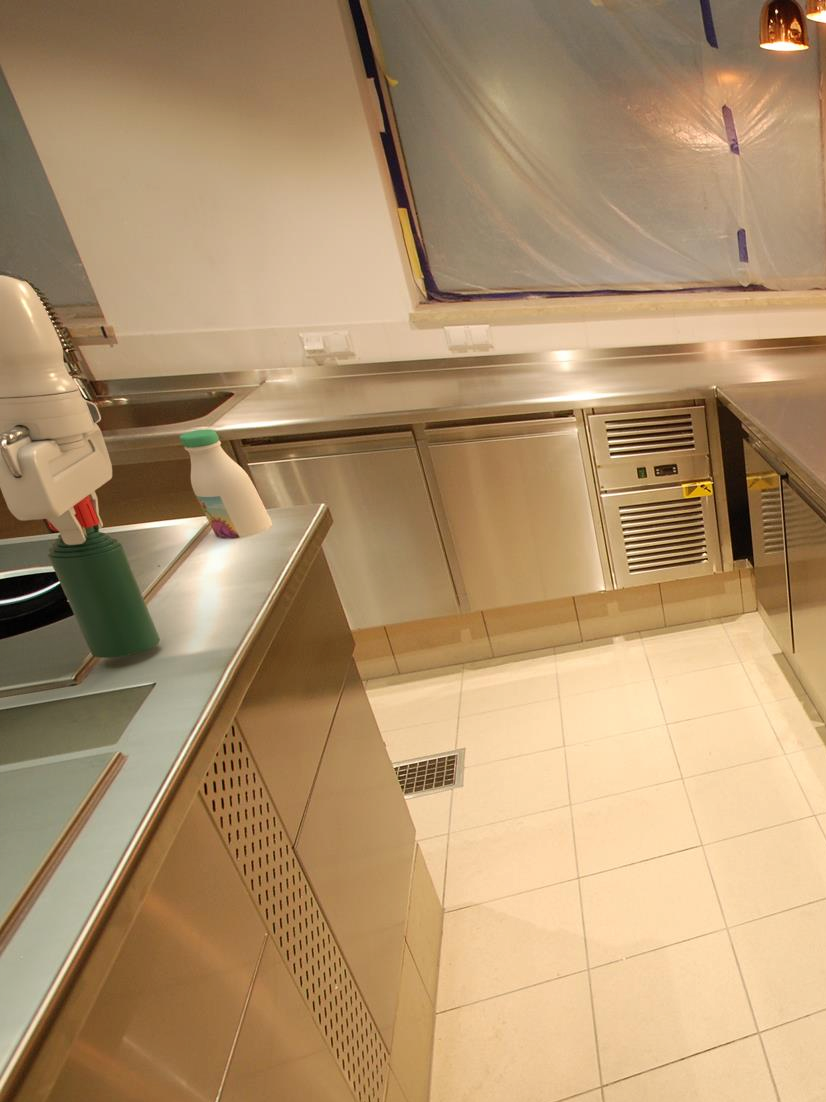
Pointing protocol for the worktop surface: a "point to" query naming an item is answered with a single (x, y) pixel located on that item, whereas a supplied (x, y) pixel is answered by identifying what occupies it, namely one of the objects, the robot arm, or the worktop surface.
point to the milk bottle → (223, 488)
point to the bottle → (104, 595)
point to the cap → (83, 514)
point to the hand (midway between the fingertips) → (85, 536)
